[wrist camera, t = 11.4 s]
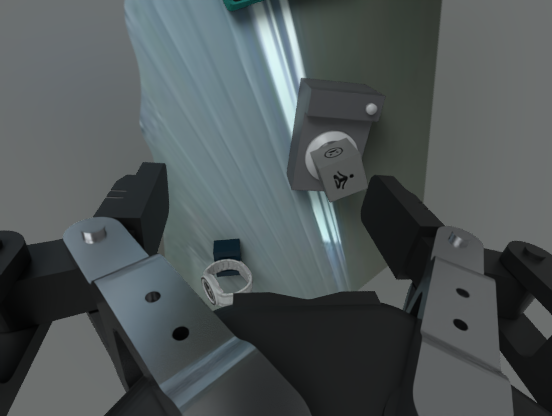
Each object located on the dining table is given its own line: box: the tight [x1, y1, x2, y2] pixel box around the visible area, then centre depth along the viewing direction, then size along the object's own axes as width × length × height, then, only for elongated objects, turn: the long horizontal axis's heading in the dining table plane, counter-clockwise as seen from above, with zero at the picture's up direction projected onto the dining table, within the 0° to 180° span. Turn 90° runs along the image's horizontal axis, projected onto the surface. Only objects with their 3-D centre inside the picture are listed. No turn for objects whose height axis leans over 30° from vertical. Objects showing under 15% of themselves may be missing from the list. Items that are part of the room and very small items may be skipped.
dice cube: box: [310, 137, 368, 202], centre depth 39 cm, size 5×5×5 cm
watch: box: [201, 239, 253, 307], centre depth 51 cm, size 6×8×11 cm
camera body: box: [287, 78, 386, 191], centre depth 42 cm, size 14×9×7 cm, turn 173°
